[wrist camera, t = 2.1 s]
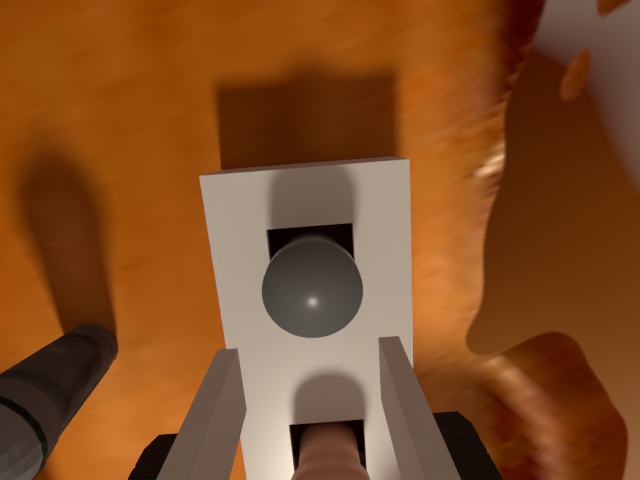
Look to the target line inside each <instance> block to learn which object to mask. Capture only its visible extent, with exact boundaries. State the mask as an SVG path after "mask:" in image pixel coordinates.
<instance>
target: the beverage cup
mask: <svg viewBox="0 0 640 480" xmlns="http://www.w3.org/2000/svg"><path fill="white" fill-rule="evenodd" d="M117 353H118V344H117V342H116V339H115V338H114V336H113V335H112V334H111V333H110V332H109V331H108V330H106V329H105V328H103V327H101V326H98V325H92V324H87V325H82V326H80V327H78V328H76V329H75V330H73V331H71V332H68V333H67V334H65V335H63V336H62V337H60V338H58V339H57V340H55V341H53V342H52V343H50V344H49V345H47V346H45V347H44V348H42V349H40V350H39V351H37V352H36V353H34V354H32V355H31V356H29V357H27V358H26V359H24V360H22V361H21V362H19V363H18V364H16V365H14V366H13V367H11V368H9V369H8V370H6V371H5V372H3V373H1V374H0V480H33V479H34V478H35V477H36V476H37V475H38V474H39V472H40V471H41V470H42V469H43V468H44V466H45V463H46V459H47V458H48V457H49V456H50V454H51V452H52V451H53V449H54V447H55V445H56V444H57V442H58V439H59V436H60V435H61V433H62V432H63V431H64V429H65V428H66V427H67V425H68V424H69V422H70V421H71V420H72V418H73V417H74V416H75V414H76V413H77V412H78V410H79V409H80V408H81V406H82V405H83V403H84V402H85V401H86V399H87V398H88V397H89V395H90V394H91V393H92V391H93V390H94V388H95V387H96V386H97V384H98V383H99V382H100V380H101V379H102V378H103V376H104V375H105V373H106V372H107V371H108V369H109V367H110V365H111V364H112V362H113V361H114V360H115V359H116V356H117Z"/></svg>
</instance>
